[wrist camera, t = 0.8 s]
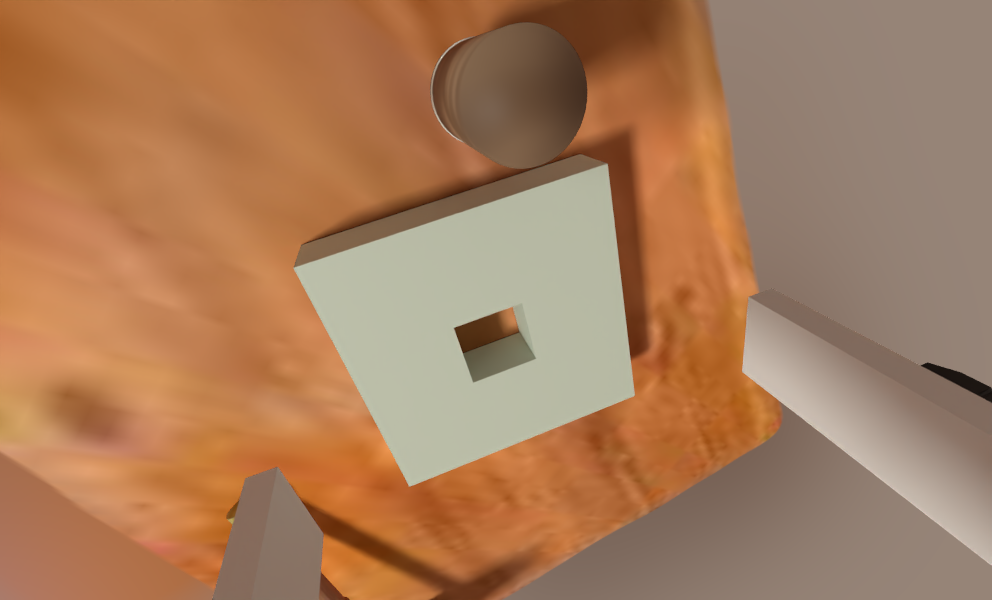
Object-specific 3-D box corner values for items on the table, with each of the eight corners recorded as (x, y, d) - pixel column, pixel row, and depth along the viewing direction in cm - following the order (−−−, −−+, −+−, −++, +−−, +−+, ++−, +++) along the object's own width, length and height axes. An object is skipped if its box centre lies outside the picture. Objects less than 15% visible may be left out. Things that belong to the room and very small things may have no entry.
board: (301, 245, 29) (293, 267, 26) (580, 153, 32) (607, 163, 28) (405, 450, 39) (409, 486, 36) (611, 369, 41) (634, 395, 38)
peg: (408, 55, 26) (441, 42, 16) (492, 31, 27) (578, 3, 16) (436, 146, 29) (479, 186, 18) (512, 122, 29) (596, 148, 19)
